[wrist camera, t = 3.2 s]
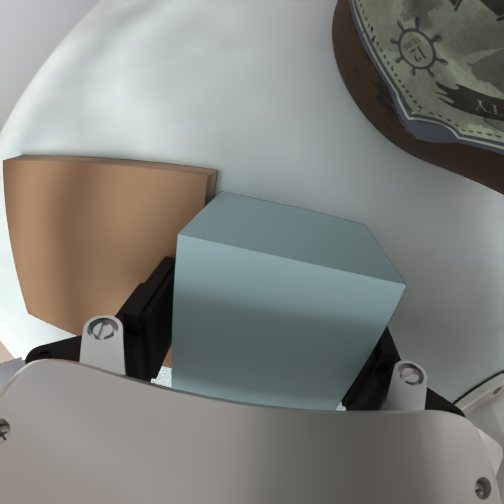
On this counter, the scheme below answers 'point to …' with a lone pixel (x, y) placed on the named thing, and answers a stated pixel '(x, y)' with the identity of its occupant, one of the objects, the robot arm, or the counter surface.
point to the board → (95, 229)
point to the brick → (277, 303)
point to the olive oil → (429, 78)
